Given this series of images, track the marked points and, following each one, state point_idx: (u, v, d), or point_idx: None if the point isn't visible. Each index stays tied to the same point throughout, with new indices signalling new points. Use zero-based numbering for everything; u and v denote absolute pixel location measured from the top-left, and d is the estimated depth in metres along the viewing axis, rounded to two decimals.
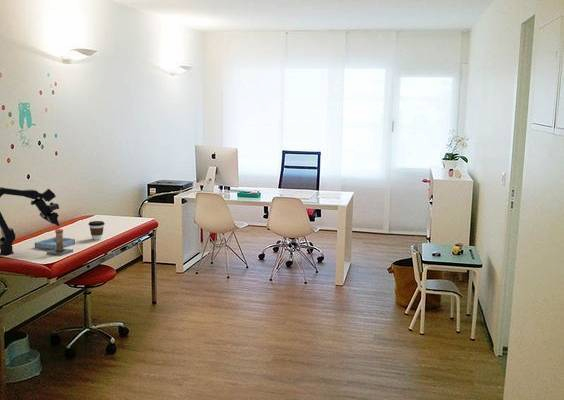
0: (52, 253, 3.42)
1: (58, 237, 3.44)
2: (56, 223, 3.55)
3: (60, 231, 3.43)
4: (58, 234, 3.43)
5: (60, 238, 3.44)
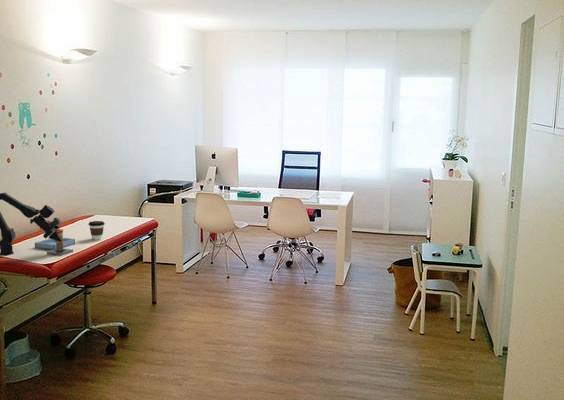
0: (52, 253, 3.42)
1: None
2: (56, 239, 3.43)
3: (60, 231, 3.43)
4: (58, 234, 3.43)
5: (60, 238, 3.44)
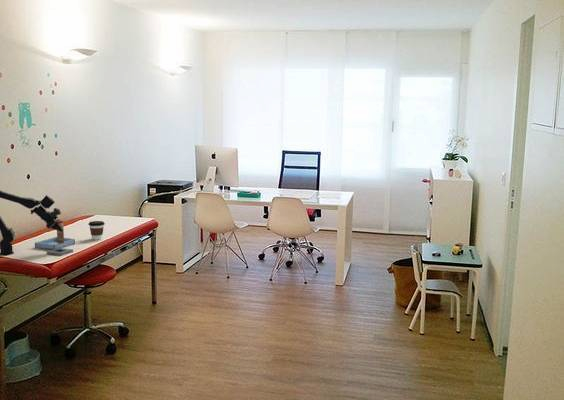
0: (52, 253, 3.42)
1: None
2: (58, 229, 3.46)
3: (61, 221, 3.48)
4: (59, 224, 3.47)
5: (61, 228, 3.48)
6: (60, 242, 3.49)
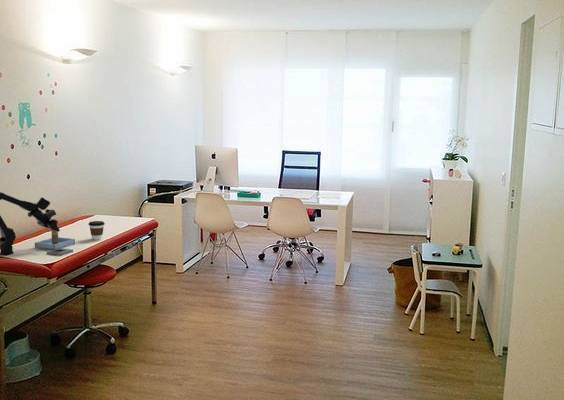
0: (52, 253, 3.42)
1: None
2: (56, 229, 3.60)
3: (57, 223, 3.63)
4: None
5: None
6: None
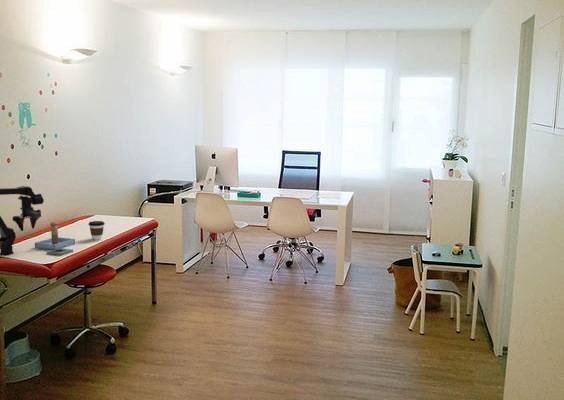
0: (52, 253, 3.42)
1: (55, 229, 3.62)
2: (20, 227, 3.47)
3: (57, 223, 3.63)
4: (55, 226, 3.62)
5: (57, 230, 3.63)
6: None
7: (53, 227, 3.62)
